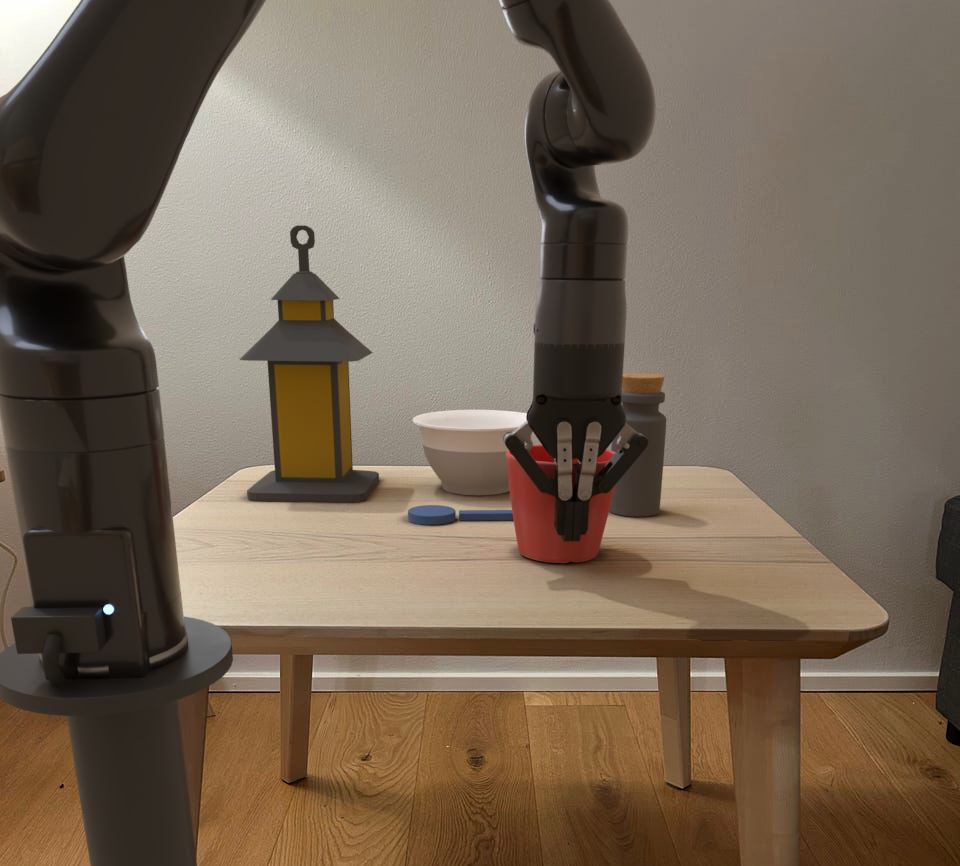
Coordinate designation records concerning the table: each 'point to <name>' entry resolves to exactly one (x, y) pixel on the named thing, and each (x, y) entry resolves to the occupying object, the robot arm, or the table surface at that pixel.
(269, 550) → the table surface
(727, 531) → the table surface
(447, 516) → the spoon
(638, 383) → the bottle
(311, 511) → the table surface
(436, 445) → the bowl
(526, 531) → the flower pot
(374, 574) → the table surface
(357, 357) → the lantern
